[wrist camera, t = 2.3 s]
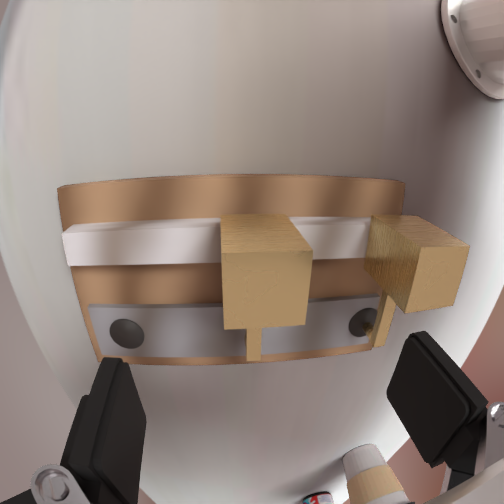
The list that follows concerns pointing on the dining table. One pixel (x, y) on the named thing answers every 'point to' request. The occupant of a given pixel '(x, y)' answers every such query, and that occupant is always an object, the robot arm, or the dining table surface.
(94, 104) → the dining table surface
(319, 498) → the beverage can
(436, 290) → the fixed leg
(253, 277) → the block
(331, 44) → the dining table surface
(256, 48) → the dining table surface
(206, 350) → the board
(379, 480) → the coffee cup
